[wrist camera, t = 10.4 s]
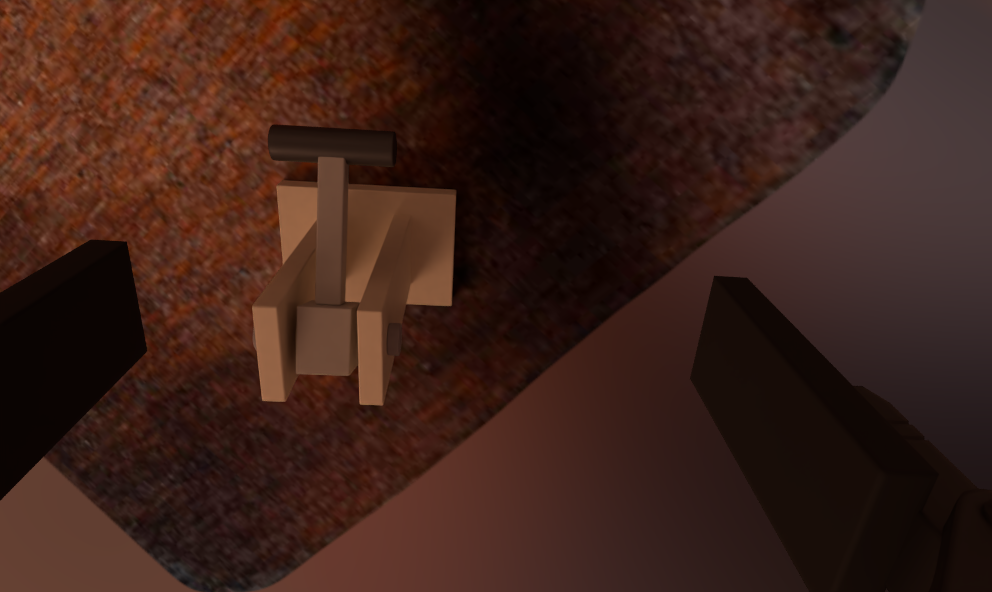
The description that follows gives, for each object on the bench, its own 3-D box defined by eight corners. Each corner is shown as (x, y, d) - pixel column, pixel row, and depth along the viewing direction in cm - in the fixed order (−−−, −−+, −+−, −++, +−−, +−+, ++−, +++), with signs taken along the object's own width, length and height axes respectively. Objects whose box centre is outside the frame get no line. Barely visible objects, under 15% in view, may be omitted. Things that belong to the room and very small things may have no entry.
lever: (281, 129, 27) (263, 119, 24) (398, 136, 27) (392, 127, 25) (277, 360, 28) (260, 372, 25) (390, 365, 28) (383, 377, 26)
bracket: (282, 179, 36) (179, 271, 23) (456, 189, 36) (447, 283, 24) (290, 291, 39) (203, 425, 26) (452, 298, 39) (442, 433, 27)
